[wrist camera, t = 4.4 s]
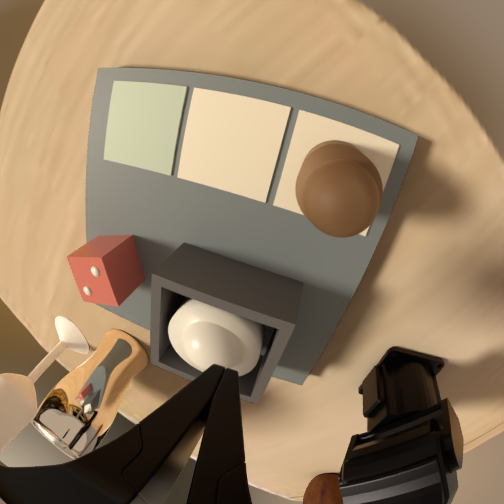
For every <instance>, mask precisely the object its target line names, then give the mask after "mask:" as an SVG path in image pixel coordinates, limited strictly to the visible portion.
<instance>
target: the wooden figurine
mask: <svg viewBox="0 0 504 504" xmlns="http://www.w3.org/2000/svg"><path fill="white" fill-rule="evenodd" d="M339 486H340V482H339V476H338V475H336V474H322V475H318V476H316V477H315V478H313V479H312V480H311V482H310V483H309V485H308V487H307V489H306V491H305V494H304V498H303V504H343V498H342V495H341V492H340V489H339Z"/></svg>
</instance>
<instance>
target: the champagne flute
mask: <svg viewBox="0 0 504 504" xmlns="http://www.w3.org/2000/svg"><path fill="white" fill-rule="evenodd" d="M55 325H56V329H57V332H58V335H59V338H60V342H59V343H58V344H57V345H56V346H55V347H54V348H53V349H52V350H51V351H50V352H49V354H48V355H47V356H46V357H45V358H44V359H43V360H42V361H41V362H40V363H39V364H38V365H37V366H36V368H34V370H33V371H32V372H31V373H30V374H29V375H28V376H27V377H26V376H24V375H20V374H12V373H4V374H0V452H2V450H3V449H4V448H5V447H6V446H7V445H8V444H9V443H10V442H11V441H12V440H13V439H14V438H15V437H16V436H17V435H18V434H19V433H20V432H21V431H22V430H23V429H24V428H25V427H26V426H27V424H29V423H30V422H31V421H30V419H31V418H32V417H33V416H34V414H35V413H36V411H37V399H36V392H35V387H34V384H33V383H34V382H35V381H36V380H37V379H38V378H39V377H40V375H41V374H42V373H43V372H44V371H45V370H46V369H47V368H48V367H49V365H50V364H51V363H52V362H53V361H54V360H55V359H56V358H57V357H58V356H59V355H60V353H61V352H62V351H63V350H64V349H65V348H69V349H71V350H73V351H76V352H78V353H81V354H87V353H88V352H89V346H88V343H87V341H86V339H85V337H84V336H83V334H82V333H81V331H80V330H79V329H78V328H77V327H76V326H75V325H74V324H73V323H72V322H71V321H69V320H68V319H66V318H64V317H61V316H58V317H56V319H55Z"/></svg>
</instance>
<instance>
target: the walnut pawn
mask: <svg viewBox="0 0 504 504" xmlns="http://www.w3.org/2000/svg"><path fill="white" fill-rule="evenodd" d="M295 192H296V199H297V202H298V205H299V207H300V209H301V211H302V213H303V214H304V215H305V217H306V218H307V219H308V220H309V221H310V222H311V223H312V224H313V225H314V226H315V227H316V228H317V229H318V230H320V231H321V232H323V233H325V234H327V235H329V236H333V237H338V238H346V237H352V236H355V235H357V234H359V233H361V232H363V231H364V230H366V229H367V228H368V227H369V226H370V225H371V223H372V222H373V221H374V219H375V217H376V215H377V213H378V210H379V207H380V204H381V201H382V196H383V185H382V180H381V177H380V174H379V172H378V170H377V168H376V167H375V165H374V164H373V163H372V162H371V161H370V159H369V158H367V157H366V156H365V155H364V154H363V153H362V152H361V151H359V150H358V149H357V148H356V147H355V146H353V145H351V144H349V143H347V142H344V141H339V140H330V141H325V142H322V143H320V144H318V145H316V146H315V147H314V148H312V149H311V150H310V151H309V152H308V154H307V155H306V157H305V159H304V161H303V163H302V166H301V168H300V171H299V173H298V176H297V180H296V186H295Z"/></svg>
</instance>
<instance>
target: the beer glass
mask: <svg viewBox="0 0 504 504" xmlns="http://www.w3.org/2000/svg"><path fill="white" fill-rule="evenodd" d="M147 364H148V357H147V354H146V352H145V350H144V348H143V347H142V346H141V345H140V343H139V342H138V341H137V340H135V339H134V338H133V337H132V336H130V335H129V334H127V333H125V332H123V331H120V330H116V329H112V330H109V331H108V332H107V333H106V334H105V335H104V337H103V339H102V341H101V343H100V344H99V346H98V348H97V349H96V350H95V352H94V353H93V354H92V355H91V356H90V357H89V358H88V359H87V360H85V361H84V362H83V363H82V364H80V365H79V366H78V367H76V368H75V369H74V370H73V371H71V372H70V373H69V374H67V375H66V376H65V377H64V378H63V379H62V380H61V381H60V382H58V383H57V384H56V386H55V387H54V388H53V389H52V390H51V391H50V392H49V394H48V395H47V396H46V398H45V399H44V400H43V402H42V404H41V405H40V406H39V408H38V409H37V411H36V413H35V414H34V416H33V417H32V418H31V419H30V421H31V423H32V424H33V425H34V427H35V428H36V429H37V430H38V431H39V432H40V433H41V434H42V435H43V436H44V437H45V438H46V439H47V440H48V441H49V442H51V443H52V444H53V445H54V446H55V447H57V448H58V449H59V450H61V451H62V452H63V453H65V454H66V455H67V456H69V457H71V458H72V459H74V460H75V459H77V458H79V457H81V456H83V455H85V454H87V453H89V452H91V451H93V450H95V449H96V448H97V447H98V445H99V444H100V442H101V441H102V439H103V438H104V437H105V435H106V433H107V431H108V430H109V428H110V426H111V425H112V422H113V420H114V418H115V416H116V413H117V411H118V409H119V406H120V404H121V401H122V399H123V396H124V394H125V392H126V389H127V387H128V386H129V384H130V382H131V381H132V380H133V378H134V377H135V376H136V375H137V374H138V373H139V372H140V371H141V370H142V369H144V368H145V367H146V365H147Z"/></svg>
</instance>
